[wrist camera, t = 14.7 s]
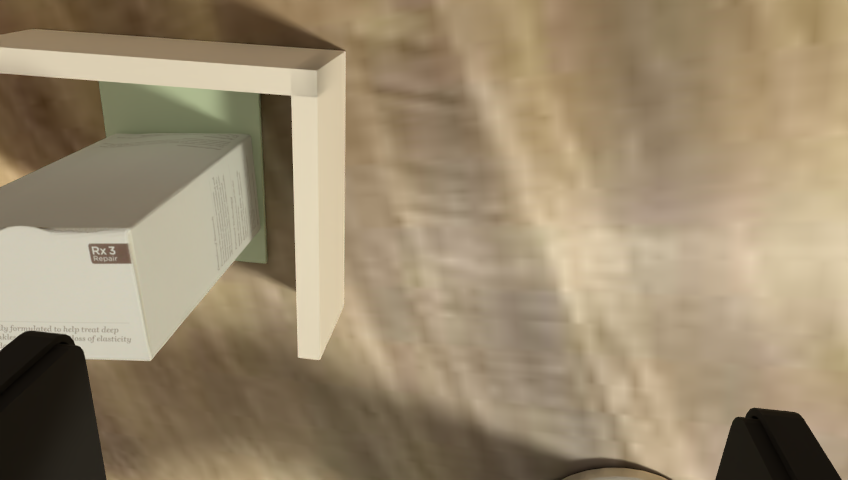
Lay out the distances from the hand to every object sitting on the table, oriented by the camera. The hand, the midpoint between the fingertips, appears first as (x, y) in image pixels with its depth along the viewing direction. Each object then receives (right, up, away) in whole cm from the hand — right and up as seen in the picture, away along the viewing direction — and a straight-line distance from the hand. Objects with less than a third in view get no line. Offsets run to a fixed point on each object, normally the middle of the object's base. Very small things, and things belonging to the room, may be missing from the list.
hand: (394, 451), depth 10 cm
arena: (-13, +7, +29) cm, 33 cm away
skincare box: (-13, +7, +30) cm, 33 cm away
